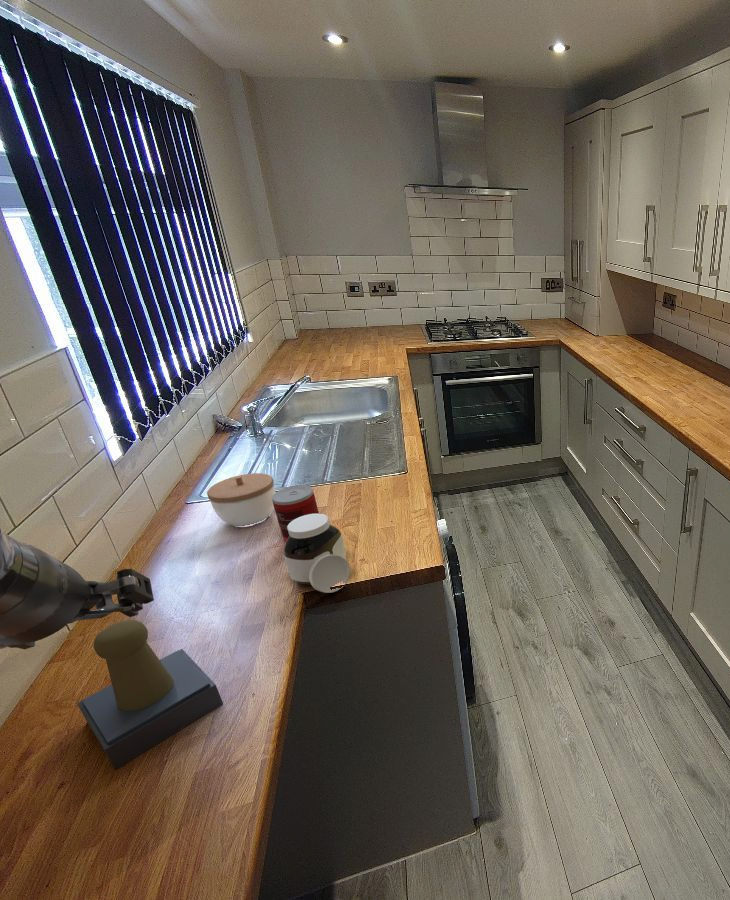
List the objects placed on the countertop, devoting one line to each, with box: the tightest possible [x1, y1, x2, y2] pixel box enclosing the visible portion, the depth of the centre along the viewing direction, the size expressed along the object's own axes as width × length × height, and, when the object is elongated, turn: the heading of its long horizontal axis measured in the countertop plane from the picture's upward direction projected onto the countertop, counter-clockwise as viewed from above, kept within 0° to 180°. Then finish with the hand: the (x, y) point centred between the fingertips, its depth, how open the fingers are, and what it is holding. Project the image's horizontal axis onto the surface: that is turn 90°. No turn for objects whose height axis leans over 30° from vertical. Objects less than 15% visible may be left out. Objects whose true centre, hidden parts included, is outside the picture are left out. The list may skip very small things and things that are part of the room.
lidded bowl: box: [206, 472, 277, 527], centre depth 119 cm, size 13×13×11 cm
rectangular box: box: [76, 648, 224, 771], centre depth 72 cm, size 12×12×4 cm
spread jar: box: [283, 513, 351, 594], centre depth 98 cm, size 12×11×12 cm
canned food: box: [272, 484, 320, 544], centre depth 112 cm, size 8×8×11 cm
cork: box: [92, 619, 174, 711], centre depth 69 cm, size 6×6×11 cm
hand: (83, 622), depth 58 cm, fingers open, 8 cm apart
